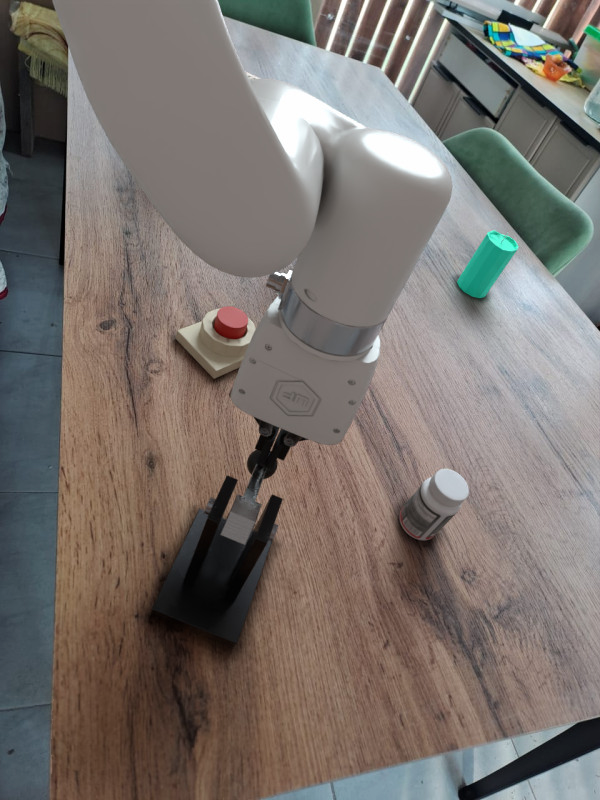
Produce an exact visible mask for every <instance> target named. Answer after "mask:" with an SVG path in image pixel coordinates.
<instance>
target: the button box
mask: <svg viewBox="0 0 600 800" xmlns="http://www.w3.org/2000/svg"><path fill="white" fill-rule="evenodd" d="M221 308H222V307H219V308H215V309H213V310H210V311H207V312H206V314H205V315H204V316H203V318H202V320H201V321H199V322H196V323H192V324H191V325H187V326H185V327H182V328H179V329H177V330H176V334H175V340H176V341H177V342H178V343H179V344H180V345H181V346H182V347H183V348H184V349H185V350H186V351H187V352H188V354H190V355H191V356H192V358H193V359H194V360H195V361H196V362H197V363H198V364H199V365H200V366H201V367H202V368H203V369H204V370H205V371H206V373H207V374H209V375H210V377H211V378H213V379H214V380H215V379H217V378H219V377H222V376H223V375H226V374H228V373H230V372H232V371H234V370H237V369H239V368H240V365H241V363H242V360H243V358H244V355H245V353H246V350H247V348H248V345H249V343H250V341H251V338H252V336H253V334H254V332H255V330H256V328H257V327H256V325H255V322H254V321H252V320H251V319H250V318H249V317H248V324H247V327H246V330H245V333H244V335H243V336H242V337H241V338H239V339H227V338H225V337H222V336H220V335H219V334H218V333H217V332H216V331H215V329H214V323H215V320H216V316H217V312H218V310H219V309H221Z"/></svg>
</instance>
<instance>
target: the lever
mask: <svg viewBox="0 0 600 800" xmlns="http://www.w3.org/2000/svg"><path fill="white" fill-rule="evenodd" d="M270 453H271V450H270ZM270 453H269V455H268V457H267V459H266V462H265V464H264V465H263V464H262V465H259V464H257V461H258V459H259V456H260V454H261V451H259V450H257V449H254V450H253V451H252V452H251V453H250V454H249V456H248V457H247V460H246V468H247V471H248V473H249V474H250V475H251V476H250V478H249V480H248V483H247V485H246V488H245V490H244V493H243V495H241V494H239V493H237V494H236V496H235V498H234V501H233V503H232V505H231V508H230V510H229V513H228V515H227V517H226V518H225V519H226V522H225V524H224V526H223V529H222V531H221V534H220V535H222V536H224V537H227V538H229V539H231V540H234V541H236V542H239V543H241V544H243V545H246V543H247V541H248V538H249V536H250V534H251V532H252V530H254V528H255V526H256V524H257V521H258V517H259V514H260V511H261V508H262V505H263V504H262V503H260V502H258V501H257V497H258V495H259V493H260V490H261V486H262V483H263V481H264V480H267V479H269V478H271V477H273V476H274V475H275V473H276V472H277V469H278V464H279V463H278V459H277V460H276V462H275V464H274V467H273V469H272V470H271V469H269V468H267V466H266V463H267V461H268V458H269V456H270Z"/></svg>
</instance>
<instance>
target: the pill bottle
mask: <svg viewBox="0 0 600 800" xmlns="http://www.w3.org/2000/svg"><path fill="white" fill-rule="evenodd" d="M469 488H470V487H469V486H468V483H467V481H466V479H464V477H463V476H462V475H461V474H459V473H458V472H456V471H455V470H453V469H450V468H441V469H438V470H437V471H436V472H435V473H434V474H433V475H432V476H431V477H428V478H427V479H425V480H424V481H423V482H422V483H421V485H420V486H419V487H418V488H417V489H416V491H415V492H414V493H413V494H412V495H411V496H410V498H409V499H408V500H407V502H406V503H405V504H403V506H402V508H400V511H399V518H398V519H399V523H400V525H401V527H402V529H403V530H404V532H405V533H406V534H407V535H408V536H410V537H411V538H413V539H415V540H418V541H429V540H431V539H433V538H434V537H435V536H436V535H437V534H438V533H439V532H440V531H441V530H442V529H443V528H444V527H445V526H446V525H447V524H448V523H449V522H450V521H451V520H452V518H454V516H456V515H457V513H459V511H460V510H461V508H462V507H461V506H462V504H463V503H464V502H465V500H466V499H467V498H468V496H469V493H470V489H469Z"/></svg>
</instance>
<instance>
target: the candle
mask: <svg viewBox="0 0 600 800" xmlns="http://www.w3.org/2000/svg"><path fill="white" fill-rule="evenodd" d="M508 234H509V232H507V233H506V234H503V233H500V232H499V231H497V230H495V229H492V230H490V231H488V232H487V233H486V235H485V236H484V237H483V239H482V241H480V242H481V243H480V244H479V245H478V247H477V249H476V250H475V251H474V253H473V255H472V256H471V258H470V260H469V261H468V263H467V265H466V266H465V267H464V269H463V270H462V272H461V274H460V276H459V277H458V279H457V282H456V283H457V285H458V288H459V289H460V290H461V291H462V292H463V293H465V294H467V295H469V296H470V297H473V298H477V299H482V298H485V297H486V296H487V295H488V293H489V292H490V290H491V289H492V288H493V286H494V285H495V283H496V281H497V280H498V279H499V277H500V276H501V275H502V273H503V271H504V270H505V268H506V267H507V266H508V264H509V263H510V261H511V260H512V259H513V257H514V255H515V254H516V253H517V251H518V250H519V245H518V243H517V241H516V240H515V239H514V238H512V237H511V236H509V235H508Z"/></svg>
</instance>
